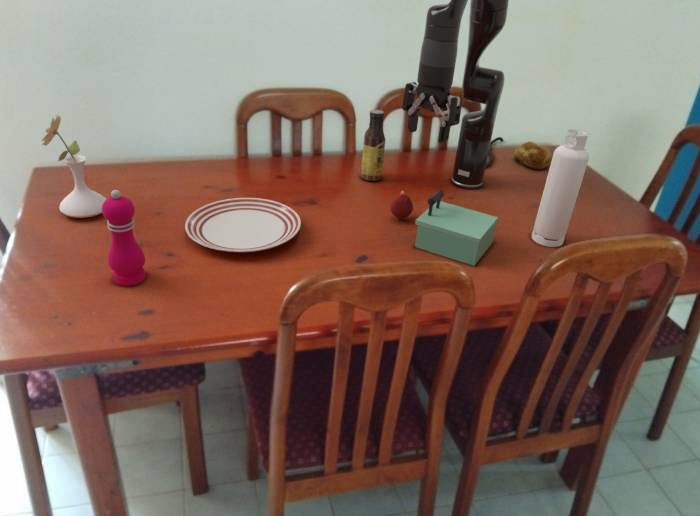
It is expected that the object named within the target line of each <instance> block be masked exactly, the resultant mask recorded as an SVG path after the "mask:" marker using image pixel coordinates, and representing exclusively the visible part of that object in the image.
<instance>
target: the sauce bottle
mask: <svg viewBox="0 0 700 516" xmlns="http://www.w3.org/2000/svg"><path fill="white" fill-rule="evenodd" d="M384 118H385V112H384V111H383V110H380V109H371V110H369V124H368V126H369V127H368V128H367V130H366V131H365V133H364V136H363V144H362V157H361V168H360V170H361V171H360V177H361V178H362V179H363V180H364V181H368V182H377V181H380V180H381V179H382V174H383V167H384V158H385V157H384V155H385V149H386V148H385V146H386V135H385V133H384V128H383V127H384V126H383V124H384V123H383V122H384Z"/></svg>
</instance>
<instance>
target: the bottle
mask: <svg viewBox="0 0 700 516" xmlns="http://www.w3.org/2000/svg"><path fill="white" fill-rule="evenodd" d="M577 134H578V135H577ZM579 134H583V135H579ZM588 137H589V133H588V132H586V131H584V130H581V129H574V128H572V129H568V130H566V134H565V137H564V142H563V144H561V145H559V146H557V147H556V148H555V149H554V151H553V153H552V156H551V162H550V164H549V169H548V173H547V176H546V181H545V184H544V188H543V192H542V195H541V198H540V203H539V206H538V210H537V214H536V218H535V221H534V224H533V229H532V232H531V235H530V237H531V239H532V241H533V242H535V244H539V245H541V246H544V247H549V248H558V247H562V246H563V244H564V242H565V239H566V235H567V232H568V228H569V225H570V222H571V218H572V216H573V212H574V209H575V206H576V202H577V199H578V195H579V192H580V189H581V187H582V182H583V179H584V177H585V172H586V169H587V167H588V163H589V160H590V154H589V151H587V149H586V148H585V147H586V144H587V140H588Z"/></svg>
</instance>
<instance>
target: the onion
mask: <svg viewBox="0 0 700 516" xmlns="http://www.w3.org/2000/svg"><path fill="white" fill-rule="evenodd" d="M389 207H390V212H391V213H392V215H393V216H394V217H395V218H396V219H397V220H398V221H402V220H404V219H406V218H408V217H410V216H411V214H413V210H414V205H413V202H412V200H411V198H410V197H409V196H408V195H407V194H406V193H405V191H403V190H401V191H400V193H399V194H398V195H396V196H395V197H393V199H392V200H391V202H390V206H389Z"/></svg>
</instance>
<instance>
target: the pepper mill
mask: <svg viewBox="0 0 700 516" xmlns="http://www.w3.org/2000/svg"><path fill="white" fill-rule="evenodd" d="M135 211H136V210H135V205H134V203H133V201H132V200H131V198H128V197H126V196H124V195H122V193H121V191H119V190H118V189H113V190H112V191H111V192H110V197H108V198H106V200H105V201H104V203H103V205H102V213H101V214H102V216H103V218H104V219H105V220H107V221H106V225H107V229H108V230H109V231H110V233H111V246H110V249H109V250H108V251H109V252H108V256H107V265H108V267H109V268H110V270H112V276H113V277H112V278H113V281H114V283H115V284H117V285H119V286H123V287H124V286H126V287H131V286H136V285H139V284H140V283H142V282H143V281H144V280H145V279H146V273H145V267H144V266H145V263H146V256H145V253H144V251H143V249H142V247H141V246H140V244H139V243H138V242H137V241H136V238H135V235H134V231H133V230H134V227H135V221H134V218H133V217H134V215H135Z"/></svg>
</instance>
